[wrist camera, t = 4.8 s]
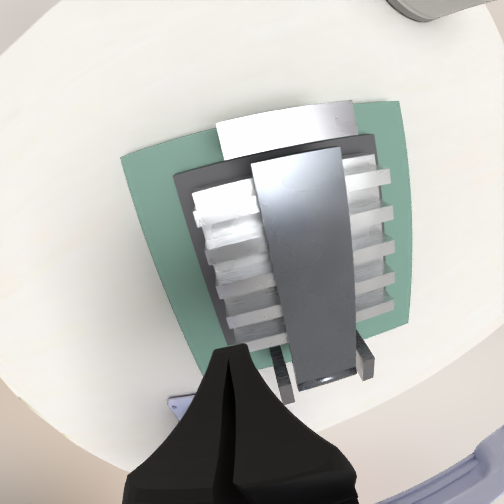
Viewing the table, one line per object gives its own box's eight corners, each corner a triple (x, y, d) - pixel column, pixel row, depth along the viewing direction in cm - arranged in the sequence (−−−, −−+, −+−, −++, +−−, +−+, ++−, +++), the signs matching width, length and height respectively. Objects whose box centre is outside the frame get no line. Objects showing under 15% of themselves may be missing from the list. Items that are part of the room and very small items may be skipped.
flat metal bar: (351, 367, 19) (356, 376, 18) (296, 383, 19) (299, 394, 18) (333, 145, 13) (341, 146, 12) (249, 162, 13) (251, 164, 12)
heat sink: (368, 328, 22) (395, 368, 18) (249, 362, 22) (256, 411, 18) (347, 104, 16) (388, 97, 11) (183, 136, 16) (168, 136, 11)
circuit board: (400, 313, 24) (413, 329, 22) (205, 368, 24) (204, 388, 22) (387, 102, 17) (407, 100, 15) (127, 155, 17) (114, 158, 15)
